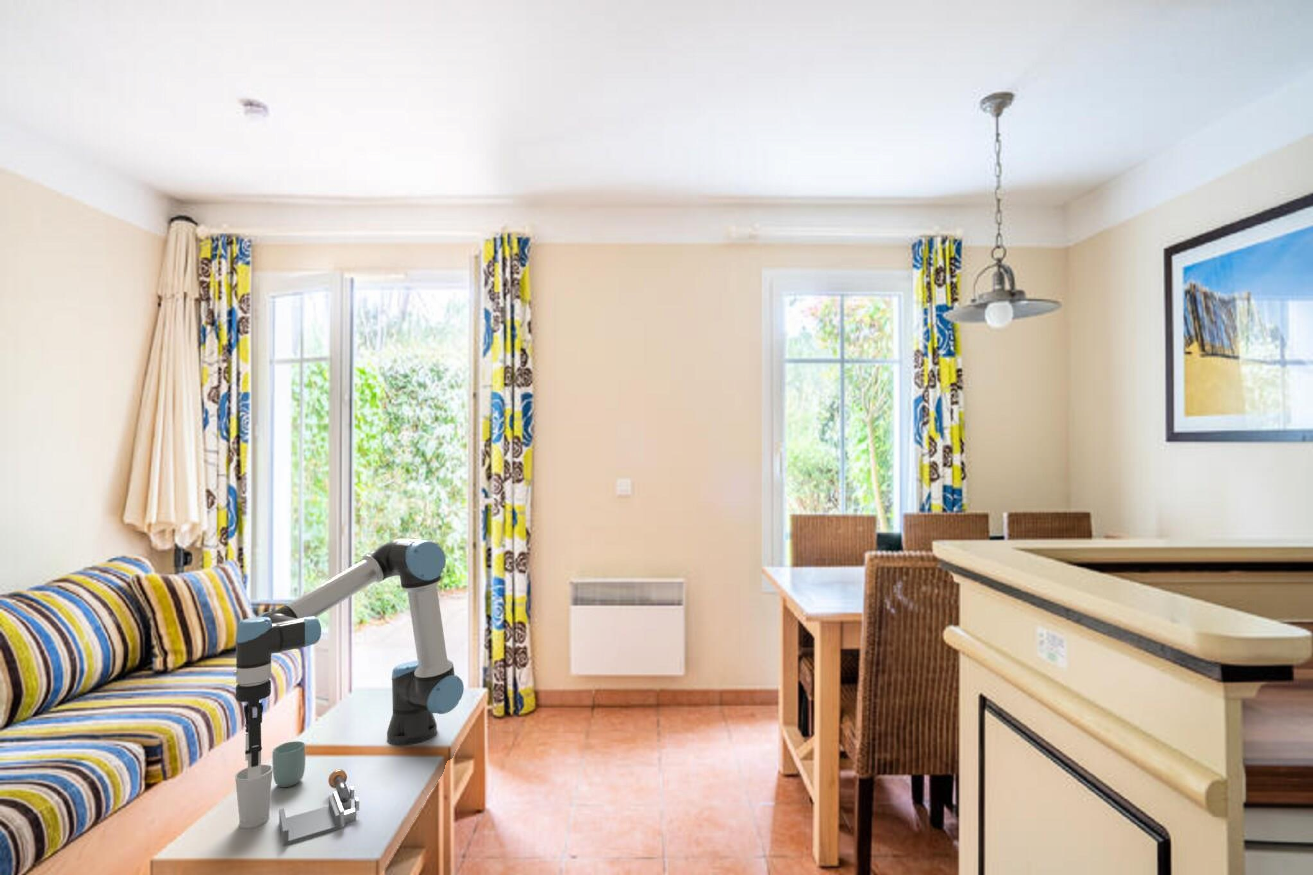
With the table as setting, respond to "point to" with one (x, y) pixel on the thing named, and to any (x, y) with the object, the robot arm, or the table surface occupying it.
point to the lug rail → (347, 807)
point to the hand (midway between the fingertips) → (252, 768)
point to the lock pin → (340, 784)
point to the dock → (309, 823)
